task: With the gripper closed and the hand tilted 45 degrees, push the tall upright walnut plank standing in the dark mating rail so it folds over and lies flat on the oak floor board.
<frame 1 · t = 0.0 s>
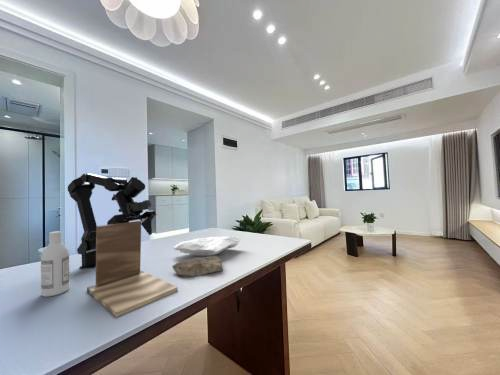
hand: (142, 236, 85), 15 cm above the table, tool tilted 30°, fingers open, 8 cm apart
walnut plank: (119, 251, 76), point 12 cm above the table, hinge at 4.2°, touching gripper
oak floor board: (129, 289, 71), on the table
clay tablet: (198, 271, 88), on the table
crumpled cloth: (209, 254, 109), on the table
bath foam: (55, 292, 70), on the table
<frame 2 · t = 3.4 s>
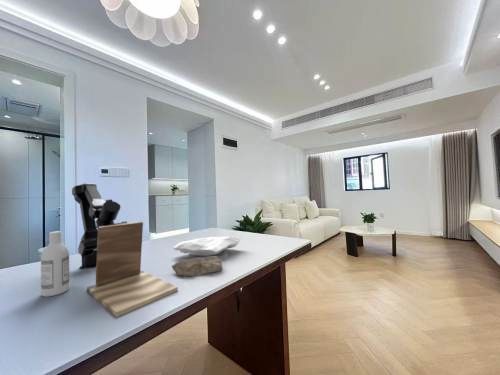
hand: (118, 262, 77), 7 cm above the table, tool tilted 45°, fingers closed, pressing on walnut plank
walnut plank: (120, 251, 76), point 12 cm above the table, hinge at 8.4°, touching gripper
everything else where it was.
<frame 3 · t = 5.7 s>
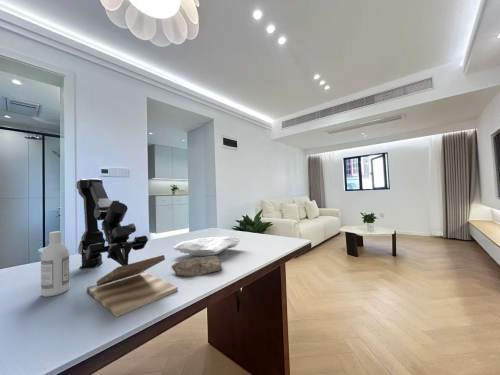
hand: (126, 266, 73), 7 cm above the table, tool tilted 45°, fingers closed
walnut plank: (130, 270, 71), point 6 cm above the table, hinge at 64.8°
everything else where it was.
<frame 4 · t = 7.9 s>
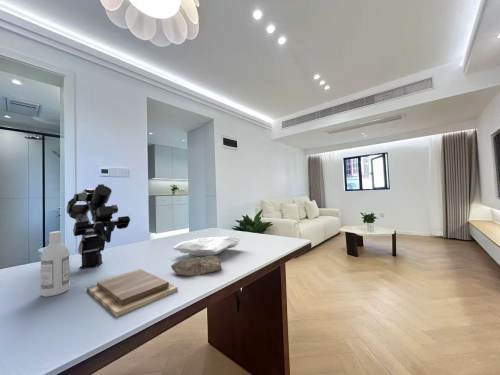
hand: (109, 241, 83), 13 cm above the table, tool tilted 45°, fingers closed
walnut plank: (132, 284, 70), point 2 cm above the table, hinge at 90.2°
everything else where it was.
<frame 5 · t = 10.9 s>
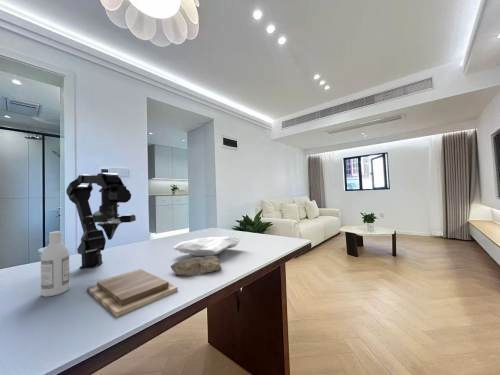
hand: (110, 239, 89), 13 cm above the table, tool pointing down, fingers closed
at the end: walnut plank at +90° (first picture: +4°) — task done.
